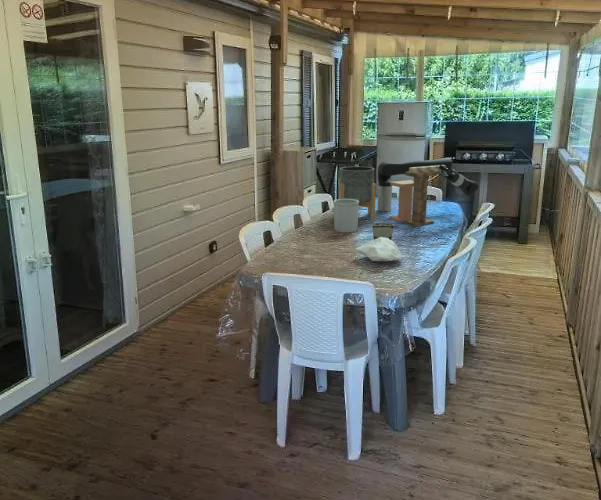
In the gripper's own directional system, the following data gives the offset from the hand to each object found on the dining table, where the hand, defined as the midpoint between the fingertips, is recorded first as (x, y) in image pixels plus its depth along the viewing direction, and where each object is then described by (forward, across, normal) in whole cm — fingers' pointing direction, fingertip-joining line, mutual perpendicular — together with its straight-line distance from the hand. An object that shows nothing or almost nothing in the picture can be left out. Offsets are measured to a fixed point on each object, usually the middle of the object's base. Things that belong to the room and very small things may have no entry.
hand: (437, 165), depth 340 cm
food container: (+33, -25, -60) cm, 72 cm away
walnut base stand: (-7, 0, -36) cm, 37 cm away
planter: (+14, +34, -49) cm, 61 cm away
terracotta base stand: (-7, +14, -36) cm, 40 cm away
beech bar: (+5, 0, -6) cm, 8 cm away
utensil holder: (+35, +8, -61) cm, 71 cm away
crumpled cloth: (+51, -51, -70) cm, 100 cm away
